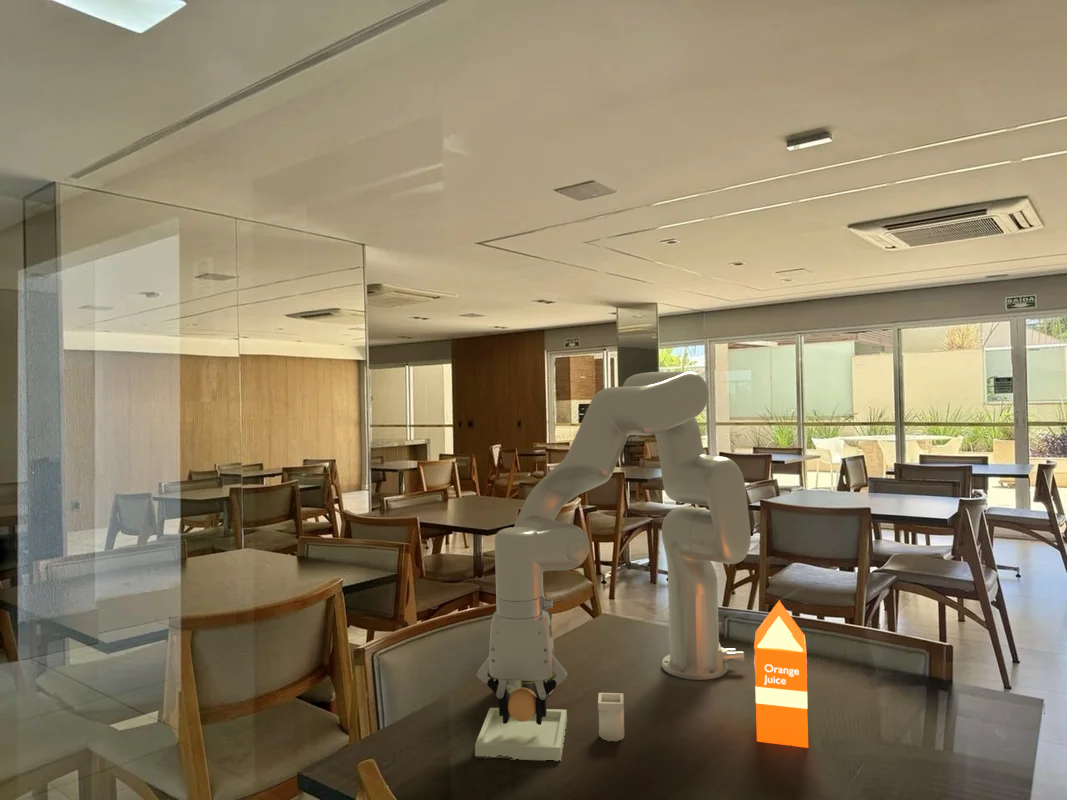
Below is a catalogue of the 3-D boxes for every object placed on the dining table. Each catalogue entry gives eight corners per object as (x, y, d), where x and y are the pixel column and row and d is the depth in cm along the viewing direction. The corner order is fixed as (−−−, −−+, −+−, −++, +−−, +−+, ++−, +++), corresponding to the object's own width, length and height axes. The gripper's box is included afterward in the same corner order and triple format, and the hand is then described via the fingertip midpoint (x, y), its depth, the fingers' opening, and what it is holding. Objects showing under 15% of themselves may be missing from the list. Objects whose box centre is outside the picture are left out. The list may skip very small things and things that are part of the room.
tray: (566, 721, 121) (566, 709, 121) (560, 760, 108) (560, 747, 108) (490, 719, 123) (489, 707, 123) (475, 758, 110) (474, 744, 110)
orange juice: (807, 722, 119) (804, 600, 118) (809, 748, 110) (806, 617, 110) (757, 717, 121) (754, 597, 121) (755, 741, 113) (752, 613, 113)
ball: (540, 713, 118) (539, 682, 118) (536, 727, 113) (536, 695, 113) (509, 712, 118) (509, 682, 118) (505, 727, 113) (504, 695, 113)
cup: (624, 730, 118) (623, 693, 118) (624, 741, 114) (623, 703, 114) (599, 729, 118) (598, 692, 118) (598, 741, 114) (597, 703, 114)
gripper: (574, 600, 118) (577, 711, 118) (472, 599, 120) (475, 709, 120) (571, 614, 111) (574, 733, 111) (462, 613, 113) (465, 730, 113)
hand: (523, 719), depth 115 cm, fingers closed on ball, 4 cm apart
